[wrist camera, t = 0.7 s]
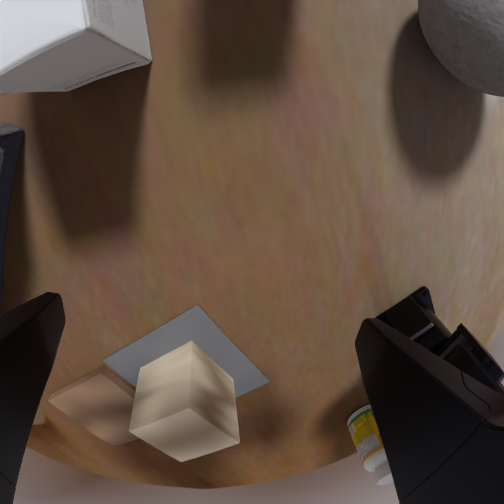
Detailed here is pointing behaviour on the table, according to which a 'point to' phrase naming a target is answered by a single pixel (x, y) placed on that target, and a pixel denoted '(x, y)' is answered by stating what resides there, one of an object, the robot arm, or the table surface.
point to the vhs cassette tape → (7, 178)
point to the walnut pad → (99, 405)
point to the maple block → (185, 405)
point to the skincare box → (69, 42)
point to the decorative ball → (467, 40)
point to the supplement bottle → (369, 444)
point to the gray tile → (179, 333)
